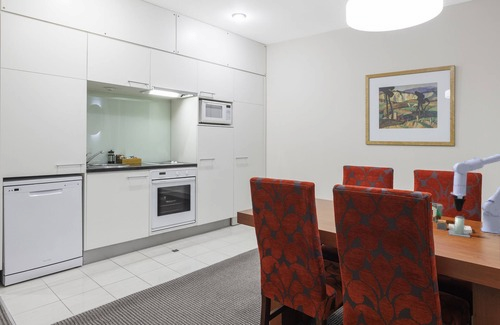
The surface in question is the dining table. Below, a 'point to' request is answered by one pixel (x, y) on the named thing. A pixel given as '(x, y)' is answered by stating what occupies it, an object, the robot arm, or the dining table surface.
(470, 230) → the filter housing
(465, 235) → the mat
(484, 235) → the dining table surface
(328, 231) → the dining table surface
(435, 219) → the food container
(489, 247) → the dining table surface
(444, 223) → the release plunger
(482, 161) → the robot arm
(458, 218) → the cylinder
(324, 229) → the dining table surface
